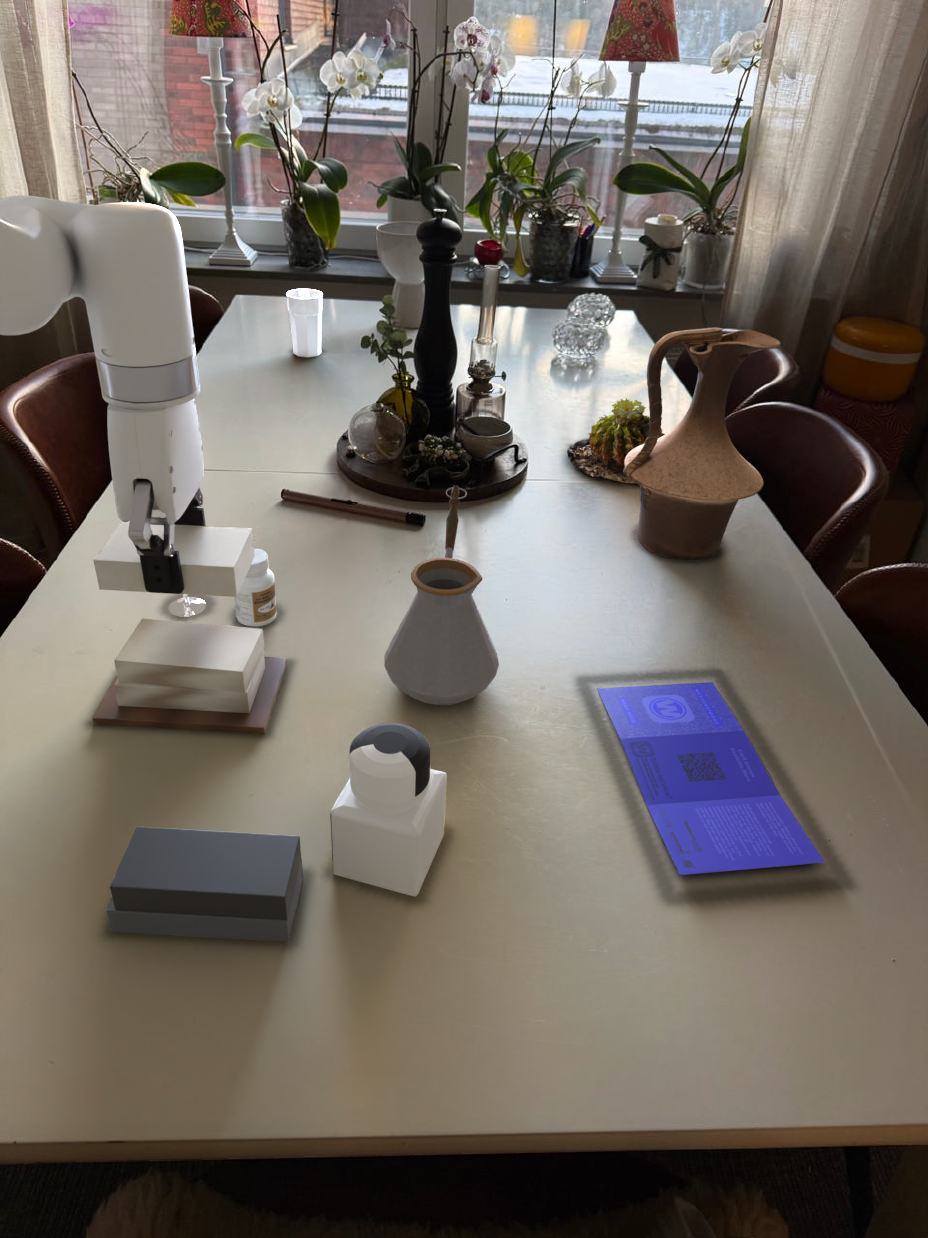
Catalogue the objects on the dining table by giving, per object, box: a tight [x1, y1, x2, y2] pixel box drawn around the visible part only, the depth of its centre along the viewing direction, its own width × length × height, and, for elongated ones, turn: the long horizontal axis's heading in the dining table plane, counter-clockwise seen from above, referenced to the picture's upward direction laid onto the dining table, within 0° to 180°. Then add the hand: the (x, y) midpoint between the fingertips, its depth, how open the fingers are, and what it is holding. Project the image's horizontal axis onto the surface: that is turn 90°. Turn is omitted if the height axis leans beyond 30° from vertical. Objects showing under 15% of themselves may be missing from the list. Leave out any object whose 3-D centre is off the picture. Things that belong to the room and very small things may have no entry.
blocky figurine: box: [329, 722, 448, 897], centre depth 73 cm, size 7×7×12 cm
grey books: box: [106, 826, 304, 943], centre depth 70 cm, size 13×6×5 cm, turn 88°
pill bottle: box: [233, 548, 278, 628], centre depth 101 cm, size 4×4×8 cm
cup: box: [285, 288, 324, 358], centre depth 175 cm, size 7×7×11 cm
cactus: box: [566, 397, 666, 484], centre depth 140 cm, size 17×16×10 cm
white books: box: [92, 618, 288, 735], centre depth 90 cm, size 16×11×6 cm
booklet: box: [596, 681, 826, 876], centre depth 86 cm, size 12×25×1 cm, turn 8°
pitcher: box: [623, 327, 781, 562], centre depth 115 cm, size 18×17×28 cm
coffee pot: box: [383, 484, 500, 706], centre depth 95 cm, size 21×12×15 cm, turn 177°
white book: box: [92, 521, 255, 598], centre depth 83 cm, size 12×7×3 cm, turn 88°
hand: (178, 567), depth 84 cm, fingers closed on white book, 7 cm apart
